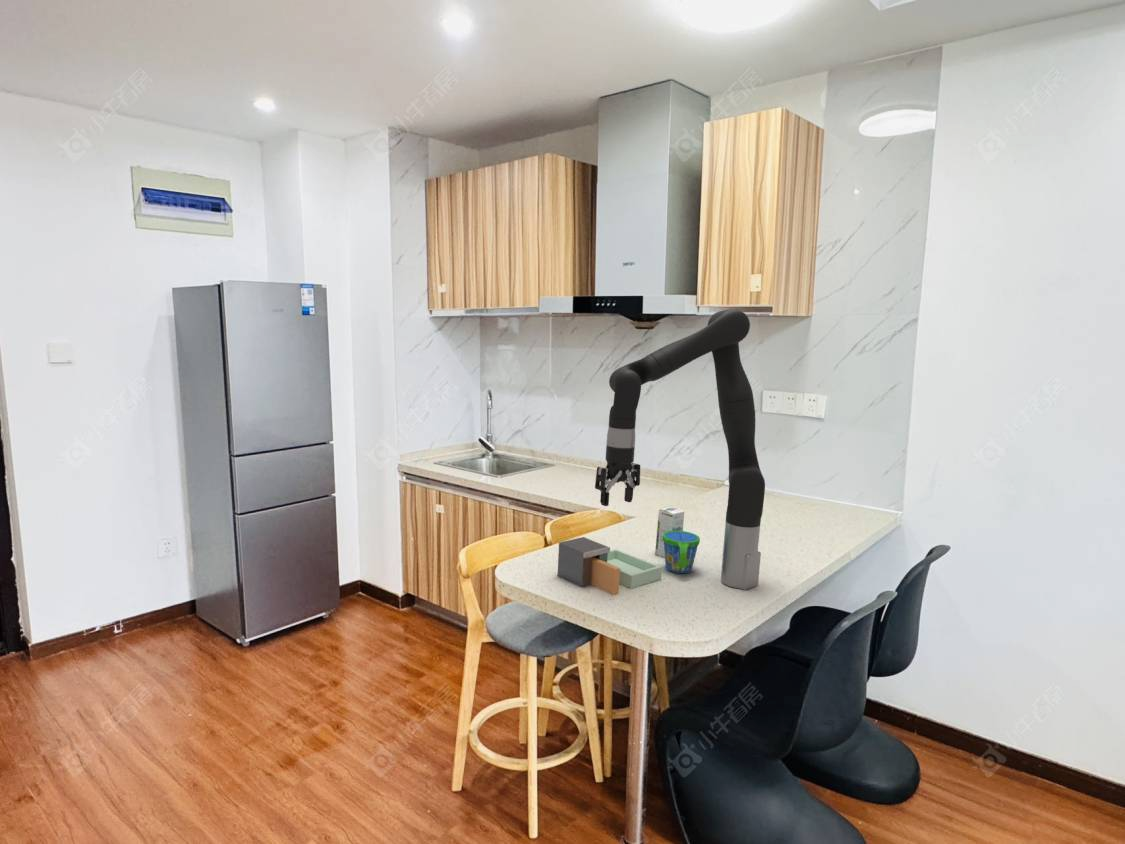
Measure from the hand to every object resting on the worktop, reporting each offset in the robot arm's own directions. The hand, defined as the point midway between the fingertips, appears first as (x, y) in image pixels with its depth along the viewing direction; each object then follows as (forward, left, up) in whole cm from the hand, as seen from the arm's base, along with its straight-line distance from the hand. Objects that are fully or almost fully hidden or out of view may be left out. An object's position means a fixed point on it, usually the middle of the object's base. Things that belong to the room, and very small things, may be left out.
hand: (616, 503), depth 179 cm
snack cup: (-5, -23, -22) cm, 32 cm away
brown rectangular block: (-2, +5, -22) cm, 23 cm away
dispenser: (+6, +5, -22) cm, 23 cm away
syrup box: (+5, -30, -22) cm, 37 cm away
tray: (+2, -7, -22) cm, 23 cm away
